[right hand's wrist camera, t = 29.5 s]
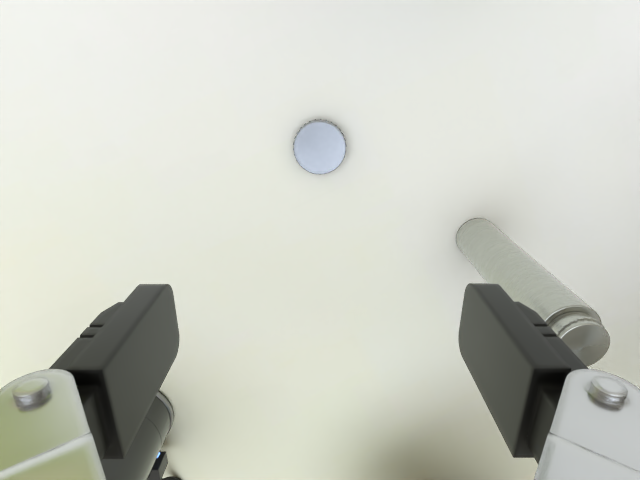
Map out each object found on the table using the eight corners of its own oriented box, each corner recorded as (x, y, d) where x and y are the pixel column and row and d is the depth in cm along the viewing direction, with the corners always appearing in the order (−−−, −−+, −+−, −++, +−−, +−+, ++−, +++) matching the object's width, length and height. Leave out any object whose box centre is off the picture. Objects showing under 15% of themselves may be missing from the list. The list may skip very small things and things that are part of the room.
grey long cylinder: (482, 210, 41) (598, 305, 24) (503, 239, 42) (628, 350, 25) (448, 234, 42) (536, 342, 25) (469, 262, 43) (568, 384, 26)
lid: (305, 178, 40) (305, 182, 38) (285, 130, 38) (284, 133, 36) (352, 160, 39) (354, 163, 37) (334, 110, 37) (335, 112, 36)
